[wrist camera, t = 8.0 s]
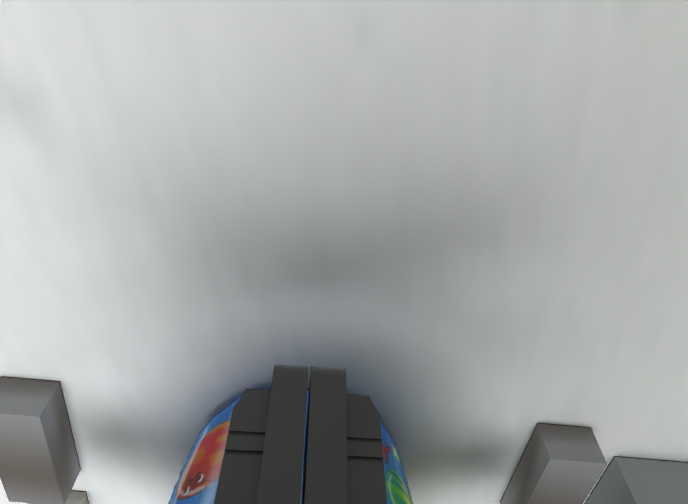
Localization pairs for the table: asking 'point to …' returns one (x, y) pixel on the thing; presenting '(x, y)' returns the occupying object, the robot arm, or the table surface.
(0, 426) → the track markers
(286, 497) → the robot arm
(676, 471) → the frame
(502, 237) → the table surface
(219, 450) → the snack cup
